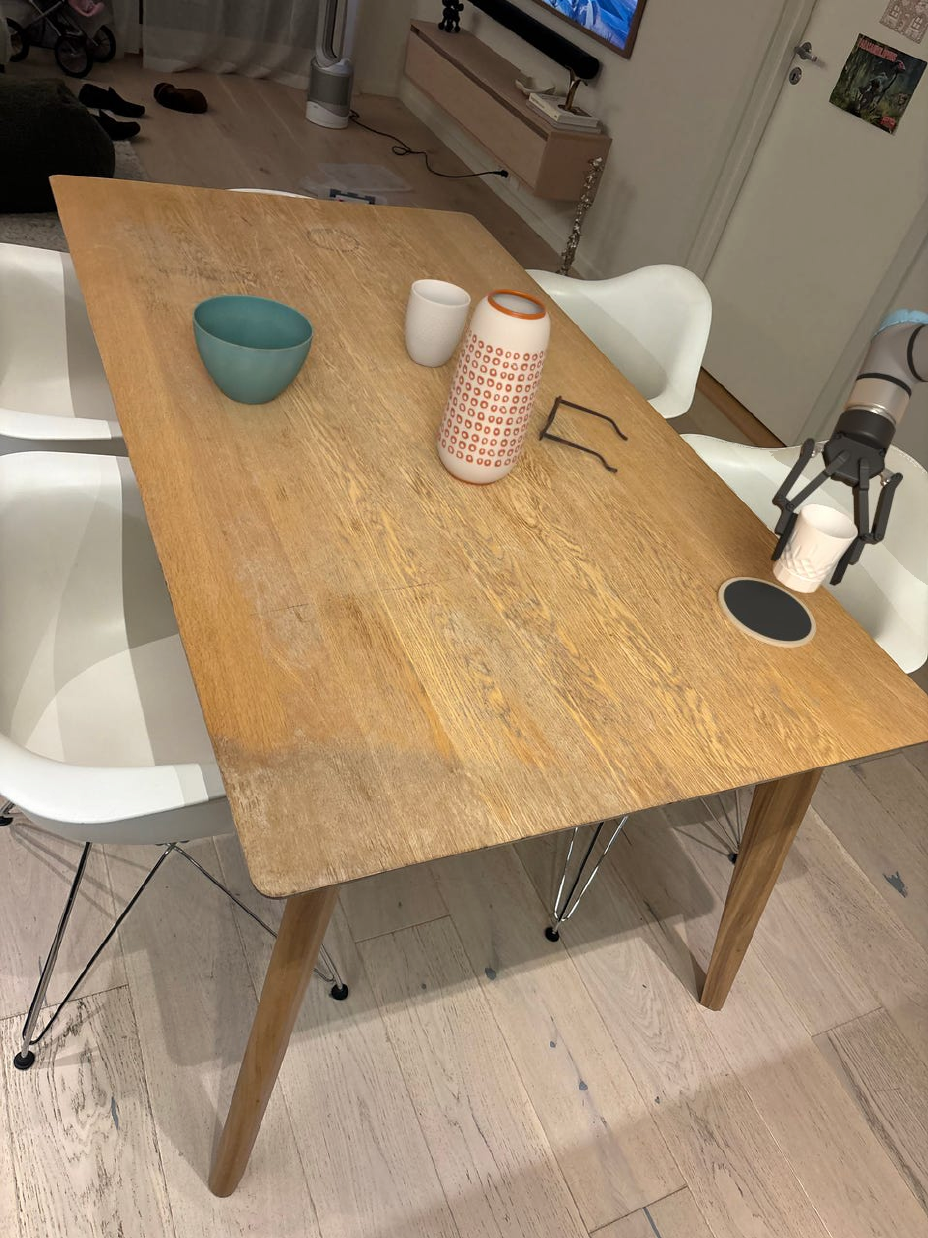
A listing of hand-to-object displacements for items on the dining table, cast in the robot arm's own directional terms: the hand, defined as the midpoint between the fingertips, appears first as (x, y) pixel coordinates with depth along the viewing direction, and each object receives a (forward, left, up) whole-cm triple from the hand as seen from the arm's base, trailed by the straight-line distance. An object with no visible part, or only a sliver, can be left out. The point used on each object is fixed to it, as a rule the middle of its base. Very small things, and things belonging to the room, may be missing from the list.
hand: (804, 570), depth 124 cm
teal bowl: (+83, +32, -12) cm, 90 cm away
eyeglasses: (+48, -14, -12) cm, 52 cm away
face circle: (+3, -5, -12) cm, 13 cm away
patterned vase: (+50, +12, -12) cm, 53 cm away
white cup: (+1, -3, -4) cm, 5 cm away
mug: (+83, -7, -12) cm, 85 cm away
